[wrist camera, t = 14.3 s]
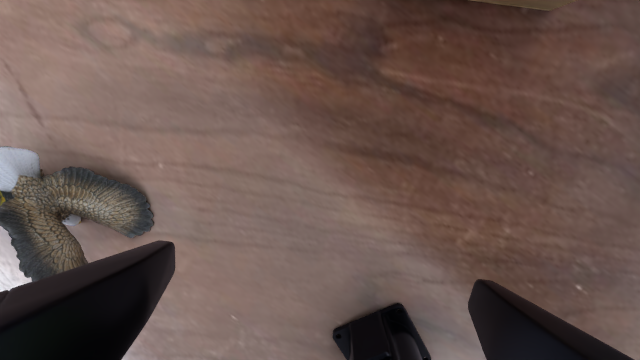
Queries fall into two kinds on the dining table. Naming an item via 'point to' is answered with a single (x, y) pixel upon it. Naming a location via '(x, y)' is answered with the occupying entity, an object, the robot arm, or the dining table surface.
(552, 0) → the tray
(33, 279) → the eagle figurine
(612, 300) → the dining table surface
